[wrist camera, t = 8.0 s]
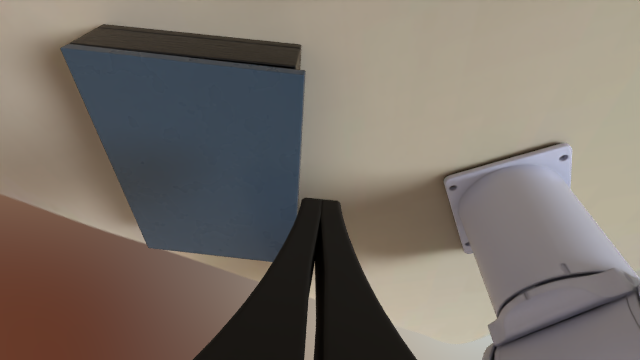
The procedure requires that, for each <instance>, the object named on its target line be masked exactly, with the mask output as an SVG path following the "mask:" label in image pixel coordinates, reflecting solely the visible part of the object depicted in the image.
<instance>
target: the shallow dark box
mask: <svg viewBox="0 0 640 360" xmlns="http://www.w3.org/2000/svg"><path fill="white" fill-rule="evenodd" d="M70 44H74V45H83V46H92V47H101V48H109V49H118V50H127V51H136V52H145V53H154V54H163V55H171V56H180V57H189V58H198V59H207V60H216V61H224V62H233V63H242V64H251V65H260V66H269V67H277V68H286V69H295V70H300V64H301V45H299V44H289V43H279V42H270V41H260V40H250V39H241V38H231V37H221V36H211V35H202V34H192V33H182V32H173V31H163V30H153V29H144V28H134V27H124V26H115V25H105V24H103V25H101V26H100V27H98V28H96V29H94V30H92V31H91V32H89V33H87V34H85V35H83V36H82V37H80V38H78V39H76V40H74V41H73V42H71V43H70Z"/></svg>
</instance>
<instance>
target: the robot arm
mask: <svg viewBox="0 0 640 360" xmlns="http://www.w3.org/2000/svg"><path fill="white" fill-rule="evenodd" d="M563 155H564V156H563ZM561 156H562V157H561ZM571 166H572V147H571V146H570V145H569V144H567V143H561V144H557V145H554V146H550V147H547V148H543V149H540V150H536V151H533V152H529V153H526V154H522V155H519V156H515V157H512V158H508V159H505V160H501V161H498V162H494V163H491V164H487V165H484V166H480V167H477V168H473V169H470V170H466V171H463V172H459V173H456V174H452V175H449V176H447V177H446V178H445V179H444V185H445V189H446V192H447V196H448V199H449V202H450V206H451V209H452V213H453V216H454V219H455V223H456V226H457V230H458V233H459V236H460V240H461V243H462V247H463V250H464V252H465V253H467V254H471V253H473V254H474V256H475V259H476V262H477V265H478V267H479V270H480V273H481V275H482V278H483V281H484V284H485V286H486V289H487V292H488V294H489V297H490V300H491V303H492V305H493V308H494V311H495V313H496V316H497V319H496V320H495V321H494V322H492V323H490V324H489V325H488V328H489V331H490V334H491V337H492V340H493V344H491V345H490V346H488V347H487V349H486V350H485V352H484V355H483V358H482V360H640V278H639V277H638V275H637V274H636V273H635V272H634V270H633V269H632V268H631V266H630V265H629V264H628V263H627V261H626V260H625V259H624V257H623V256H622V255H621V254H620V252H619V251H618V250H617V248H616V247H615V246H614V245H613V243H612V242H611V241H610V239H609V238H608V237H607V236H606V234H605V233H604V232H603V230H602V229H601V228H600V227H599V225H598V224H597V223H596V221H595V220H594V219H593V218H592V216H591V215H590V214H589V212H588V211H587V210H586V209H585V207H584V206H583V205H582V203H581V202H580V201H579V200H578V198H577V197H576V196H575V194H574V193H573V192H572V191H571ZM454 185H455V186H454ZM451 186H454V187H451ZM314 263H315V282H316V334H315V349H314V360H417V359H416V358H415V356H414V355H413V354H412V352H411V351H410V349H409V348H408V347H407V345H406V344H405V342H404V341H403V339H402V338H401V336H400V335H399V333H398V332H397V330H396V329H395V327H394V325H393V324H392V322H391V321H390V319H389V318H388V316H387V315H386V313H385V311H384V310H383V308H382V306H381V305H380V303H379V301H378V299H377V298H376V296H375V294H374V292H373V290H372V288H371V286H370V284H369V283H368V281H367V279H366V276H365V274H364V272H363V270H362V268H361V266H360V263H359V261H358V259H357V256H356V254H355V252H354V249H353V246H352V244H351V241H350V238H349V236H348V233H347V229H346V226H345V223H344V219H343V215H342V211H341V205H340V203H339V202H338V201H333V200H323V199H312V198H304V199H302V202H301V206H300V209H299V212H298V215H297V217H296V220H295V222H294V224H293V226H292V228H291V230H290V232H289V234H288V236H287V238H286V240H285V242H284V244H283V246H282V248H281V249H280V251H279V253H278V255H277V256H276V258H275V260H274V261H273V263H272V265H271V266H270V268H269V269H268V271H267V272H266V274H265V275H264V277H263V278H262V280H261V281H260V282H259V284H258V285H257V287H256V288H255V289H254V291H253V292H252V293H251V295H250V296H249V297H248V299H247V300H246V301H245V303H244V304H243V305H242V306H241V308H240V309H239V310H238V311H237V312H236V313H235V315H234V316H233V317H232V318H231V319H230V320H229V322H228V323H227V324H226V325H225V326H224V327H223V328H222V330H221V331H220V332H219V333H218V334H217V335H216V336H215V337H214V338H213V340H211V342H210V343H209V344H208V345H207V346H206V347H205V348H204V349H203V350H202V351H201V352H200V353H199V354H198V355H197V356H196V357H195V358H194V359H193V360H304V353H305V339H306V324H307V311H308V298H309V292H310V286H311V280H312V275H313V269H314Z"/></svg>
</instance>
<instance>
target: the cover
mask: <svg viewBox="0 0 640 360" xmlns="http://www.w3.org/2000/svg"><path fill="white" fill-rule="evenodd" d="M60 49H61V51H62V54H63V56H64V58H65V60H66V63H67V65H68V67H69V69H70V72H71V74H72V76H73V78H74V81H75V83H76V85H77V88H78V90H79V92H80V94H81V97H82V99H83V101H84V103H85V106H86V108H87V110H88V112H89V115H90V117H91V119H92V121H93V124H94V126H95V128H96V131H97V133H98V135H99V137H100V140H101V142H102V144H103V146H104V149H105V151H106V153H107V155H108V158H109V160H110V162H111V164H112V167H113V169H114V171H115V174H116V176H117V178H118V180H119V183H120V185H121V187H122V189H123V192H124V194H125V196H126V198H127V201H128V203H129V205H130V207H131V210H132V212H133V214H134V217H135V219H136V221H137V223H138V226H139V228H140V230H141V232H142V235H143V237H144V239H145V241H146V244H147V246H148V248H154V249H163V250H171V251H180V252H189V253H198V254H207V255H215V256H224V257H233V258H242V259H251V260H260V261H268V262H273V261H274V260H275V258H276V256H277V255H278V253H279V251H280V249H281V248H282V246H283V244H284V242H285V240H286V238H287V236H288V234H289V232H290V230H291V228H292V226H293V224H294V222H295V220H296V217H297V214H298V196H299V178H300V160H301V142H302V125H303V107H304V89H305V71H304V70H295V69H286V68H277V67H269V66H260V65H251V64H242V63H233V62H224V61H216V60H207V59H198V58H189V57H180V56H171V55H163V54H154V53H145V52H136V51H127V50H118V49H109V48H101V47H92V46H83V45H74V44H67V45H65V46H63V47H61V48H60Z"/></svg>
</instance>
